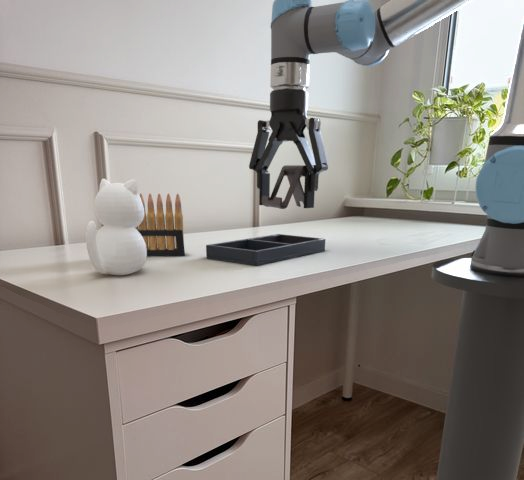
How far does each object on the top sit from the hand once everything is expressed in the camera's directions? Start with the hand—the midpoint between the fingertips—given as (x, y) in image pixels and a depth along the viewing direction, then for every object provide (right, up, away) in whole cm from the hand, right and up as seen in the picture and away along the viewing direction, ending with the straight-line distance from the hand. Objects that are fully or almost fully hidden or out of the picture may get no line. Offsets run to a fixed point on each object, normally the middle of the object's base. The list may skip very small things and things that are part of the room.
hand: (285, 206), depth 109 cm
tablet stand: (0, 0, 0) cm, 0 cm away
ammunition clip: (-26, -11, -4) cm, 29 cm away
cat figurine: (-29, -18, -22) cm, 41 cm away
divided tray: (-4, -10, -1) cm, 11 cm away
